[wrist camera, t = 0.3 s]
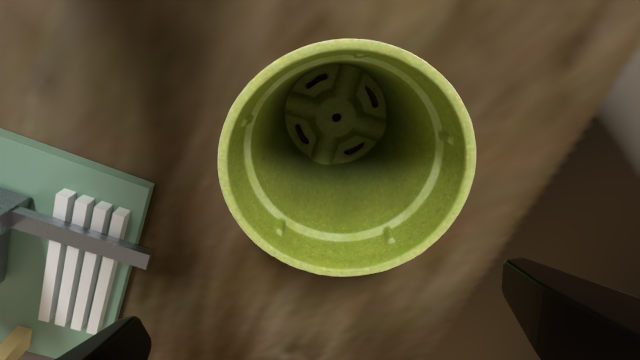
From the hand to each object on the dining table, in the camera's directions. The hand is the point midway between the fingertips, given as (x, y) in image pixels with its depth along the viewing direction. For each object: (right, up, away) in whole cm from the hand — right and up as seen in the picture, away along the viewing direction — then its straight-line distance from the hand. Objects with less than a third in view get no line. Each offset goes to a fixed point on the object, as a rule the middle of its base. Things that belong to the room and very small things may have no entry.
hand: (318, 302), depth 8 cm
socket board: (-21, -2, +16) cm, 26 cm away
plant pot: (+1, +7, +12) cm, 14 cm away
